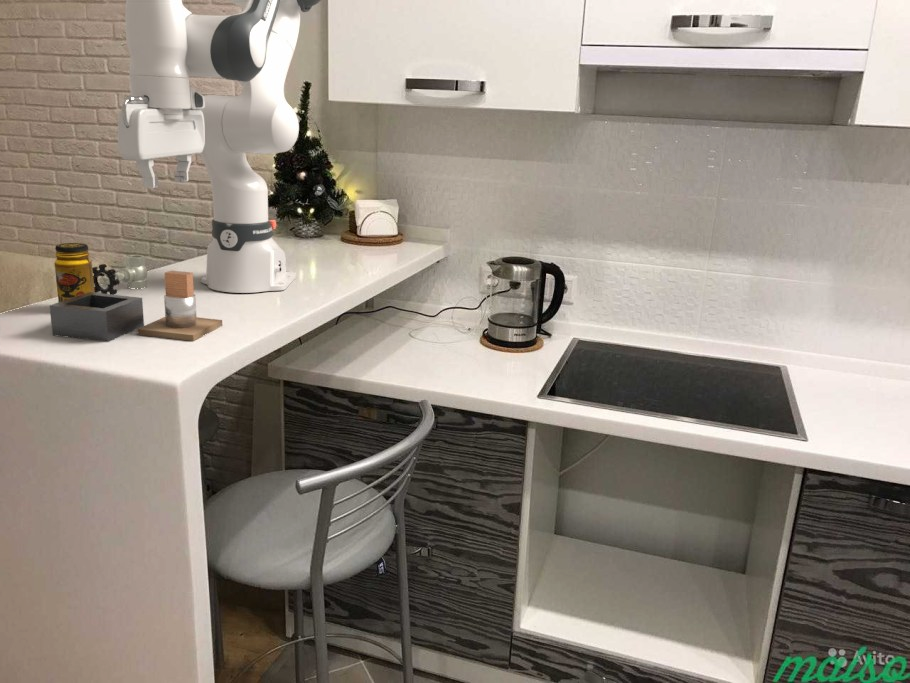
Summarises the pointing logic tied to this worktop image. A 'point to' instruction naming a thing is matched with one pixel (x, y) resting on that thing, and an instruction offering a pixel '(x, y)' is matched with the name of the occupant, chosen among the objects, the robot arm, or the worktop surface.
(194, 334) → the board
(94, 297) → the housing
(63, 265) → the condiment
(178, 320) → the plug
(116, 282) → the valve
